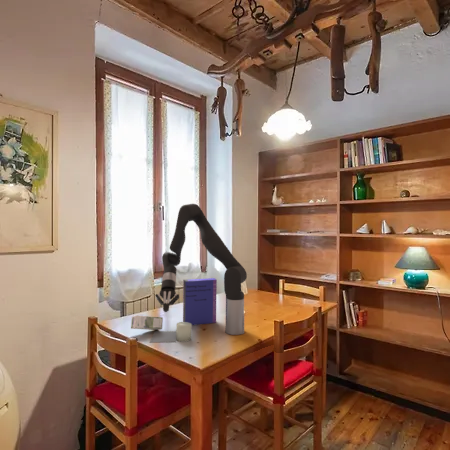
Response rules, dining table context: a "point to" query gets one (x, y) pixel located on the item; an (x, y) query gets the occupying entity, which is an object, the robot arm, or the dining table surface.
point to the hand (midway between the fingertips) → (165, 311)
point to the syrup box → (146, 322)
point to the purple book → (199, 301)
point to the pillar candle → (183, 331)
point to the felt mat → (164, 336)
